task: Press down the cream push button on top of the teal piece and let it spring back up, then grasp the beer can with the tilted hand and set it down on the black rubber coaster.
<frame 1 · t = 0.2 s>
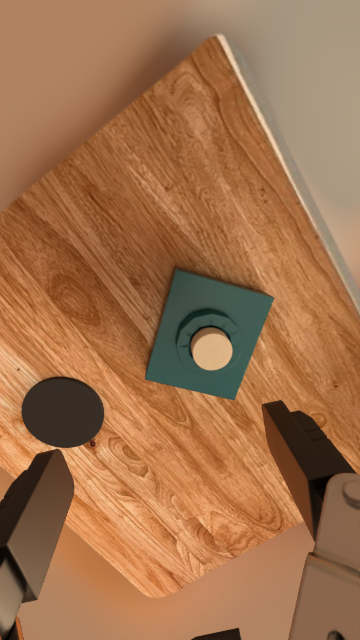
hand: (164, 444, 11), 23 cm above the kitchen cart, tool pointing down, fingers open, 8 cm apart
teal piece: (204, 332, 34), on the kitchen cart
button: (211, 348, 29), point 5 cm above the kitchen cart, slide at 0.1 cm
coaster: (64, 412, 36), on the kitchen cart
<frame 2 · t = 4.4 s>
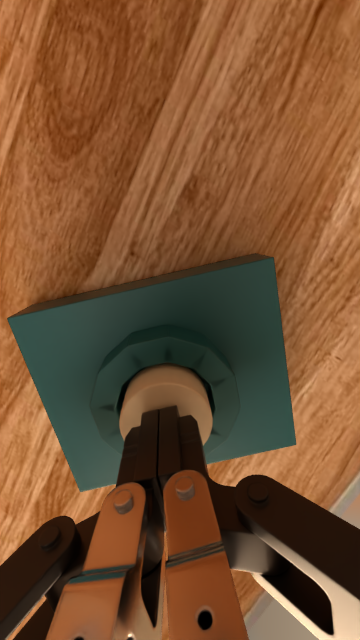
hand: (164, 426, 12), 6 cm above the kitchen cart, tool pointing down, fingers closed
teal piece: (165, 365, 18), on the kitchen cart
button: (166, 410, 13), point 5 cm above the kitchen cart, slide at -0.3 cm, touching gripper
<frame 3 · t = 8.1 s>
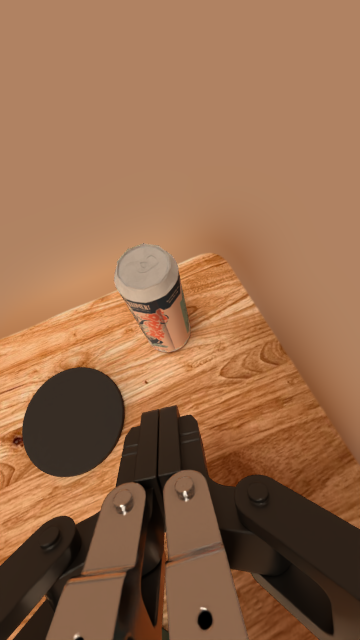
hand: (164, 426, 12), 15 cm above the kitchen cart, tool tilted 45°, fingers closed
beer can: (169, 333, 31), on the kitchen cart
coaster: (74, 418, 28), on the kitchen cart
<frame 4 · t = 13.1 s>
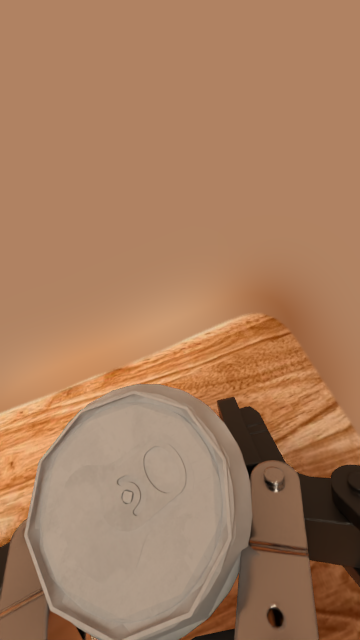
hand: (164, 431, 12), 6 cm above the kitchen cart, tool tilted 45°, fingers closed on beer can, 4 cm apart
beer can: (187, 477, 16), on the kitchen cart, touching gripper
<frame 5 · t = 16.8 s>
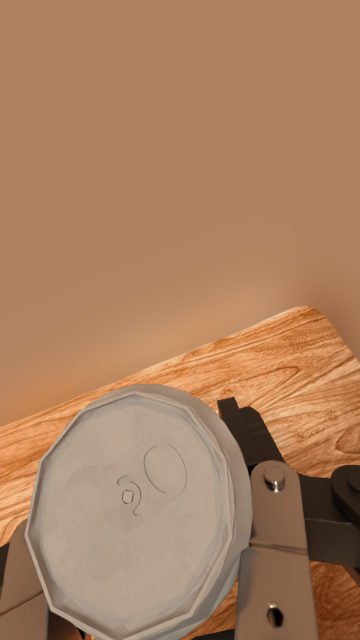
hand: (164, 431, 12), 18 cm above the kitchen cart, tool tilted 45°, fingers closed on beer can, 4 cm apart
beer can: (187, 477, 16), point 12 cm above the kitchen cart, touching gripper
when the fingers open (6 cm above the kitchen cart, at t = 20.5 s): beer can stays where it is, resting on coaster.
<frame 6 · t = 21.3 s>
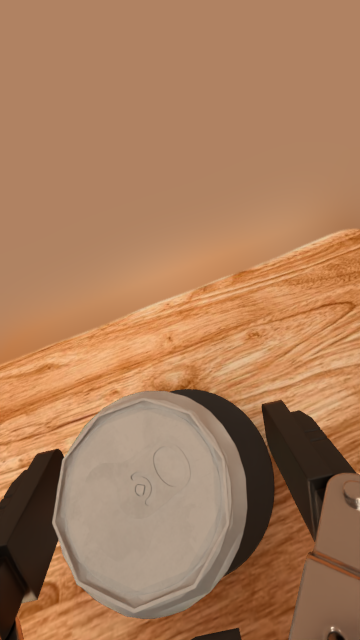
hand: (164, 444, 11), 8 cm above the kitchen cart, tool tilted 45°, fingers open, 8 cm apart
beer can: (188, 475, 17), resting on coaster
coaster: (187, 473, 17), on the kitchen cart
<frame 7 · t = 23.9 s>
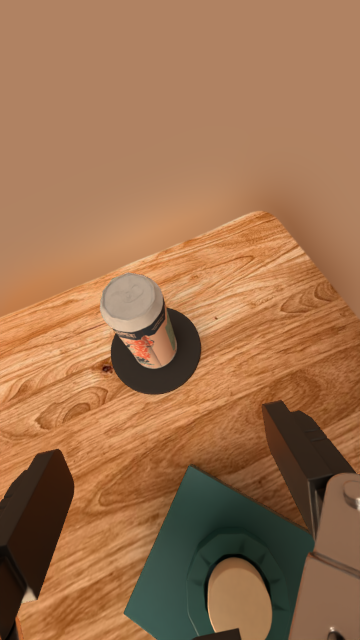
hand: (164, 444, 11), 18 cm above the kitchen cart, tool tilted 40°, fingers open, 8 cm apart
beer can: (156, 349, 32), resting on coaster
teal piece: (232, 569, 24), on the kitchen cart
button: (238, 600, 19), point 5 cm above the kitchen cart, slide at 0.1 cm
coaster: (156, 349, 32), on the kitchen cart
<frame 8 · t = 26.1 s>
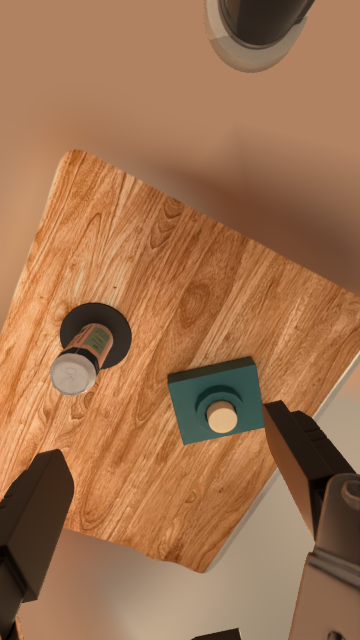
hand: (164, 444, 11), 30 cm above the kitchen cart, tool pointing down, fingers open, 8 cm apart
beer can: (97, 337, 41), resting on coaster
teal piece: (215, 396, 45), on the kitchen cart
button: (221, 416, 40), point 5 cm above the kitchen cart, slide at 0.1 cm
coaster: (96, 336, 41), on the kitchen cart
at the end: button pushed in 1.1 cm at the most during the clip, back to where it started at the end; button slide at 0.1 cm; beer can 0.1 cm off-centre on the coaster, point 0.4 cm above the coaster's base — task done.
